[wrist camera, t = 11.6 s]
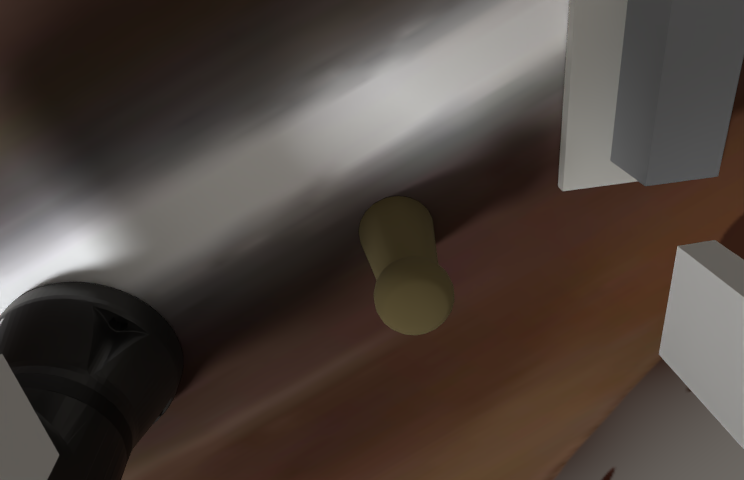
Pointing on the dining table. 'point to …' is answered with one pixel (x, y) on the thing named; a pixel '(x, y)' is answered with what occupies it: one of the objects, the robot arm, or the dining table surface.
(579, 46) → the base board
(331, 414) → the dining table surface
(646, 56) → the outer sleeve
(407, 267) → the cork
